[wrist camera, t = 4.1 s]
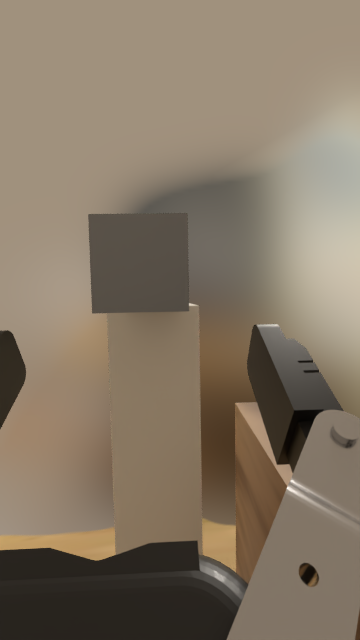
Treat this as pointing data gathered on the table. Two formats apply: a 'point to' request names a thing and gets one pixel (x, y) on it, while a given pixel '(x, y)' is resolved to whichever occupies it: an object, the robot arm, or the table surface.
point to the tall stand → (155, 427)
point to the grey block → (139, 262)
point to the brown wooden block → (256, 489)
